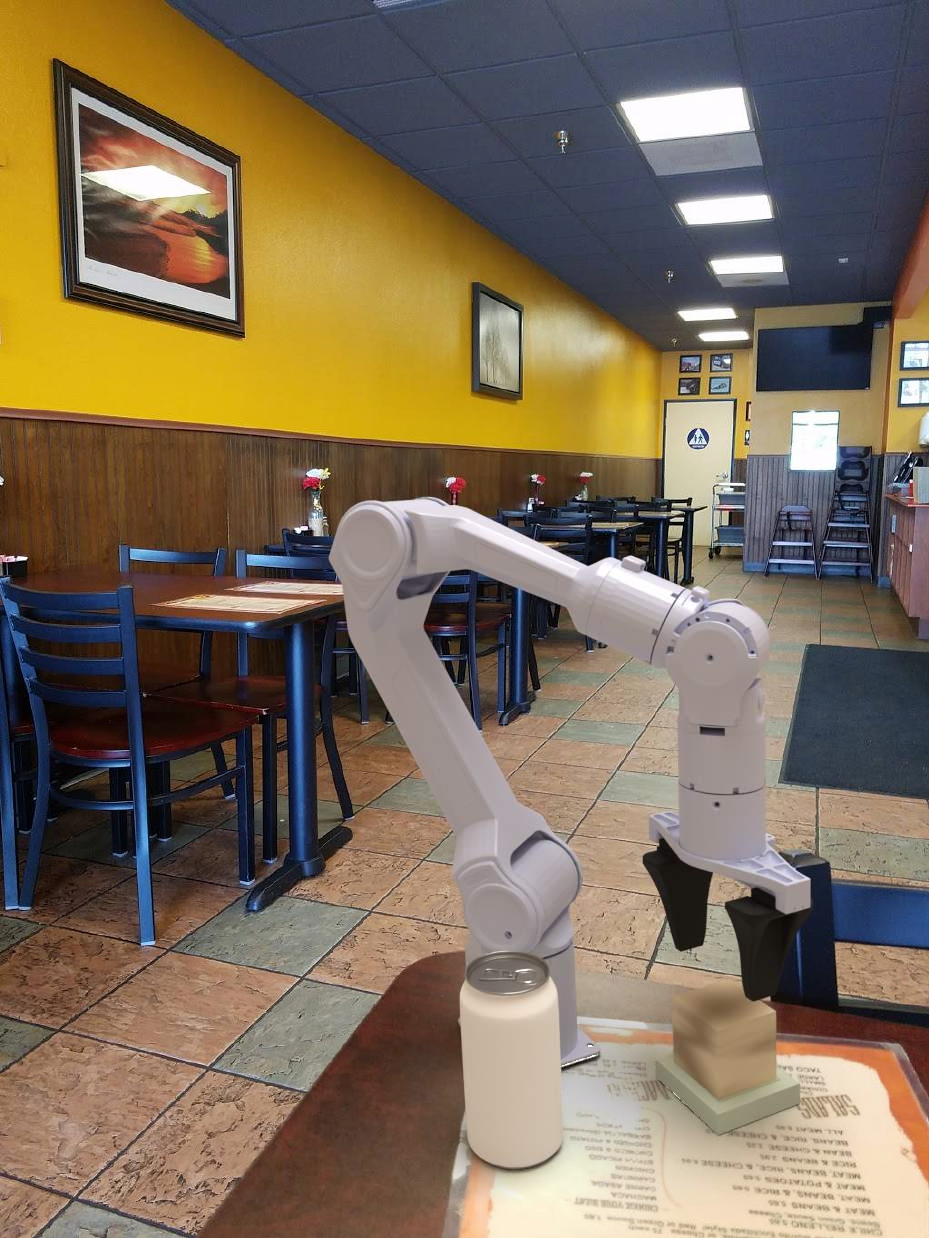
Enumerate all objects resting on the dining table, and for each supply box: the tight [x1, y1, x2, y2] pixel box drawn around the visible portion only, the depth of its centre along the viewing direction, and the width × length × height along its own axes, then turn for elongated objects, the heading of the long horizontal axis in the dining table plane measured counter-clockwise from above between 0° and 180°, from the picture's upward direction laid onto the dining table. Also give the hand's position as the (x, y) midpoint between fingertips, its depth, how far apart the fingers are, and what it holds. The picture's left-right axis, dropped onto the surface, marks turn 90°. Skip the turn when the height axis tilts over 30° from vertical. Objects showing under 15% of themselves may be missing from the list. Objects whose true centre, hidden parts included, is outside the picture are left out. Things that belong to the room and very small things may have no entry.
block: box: [671, 978, 777, 1100], centre depth 67 cm, size 5×5×5 cm
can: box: [459, 950, 564, 1171], centre depth 63 cm, size 6×6×12 cm
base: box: [655, 1052, 801, 1136], centre depth 68 cm, size 7×7×2 cm
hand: (723, 970), depth 66 cm, fingers open, 7 cm apart
